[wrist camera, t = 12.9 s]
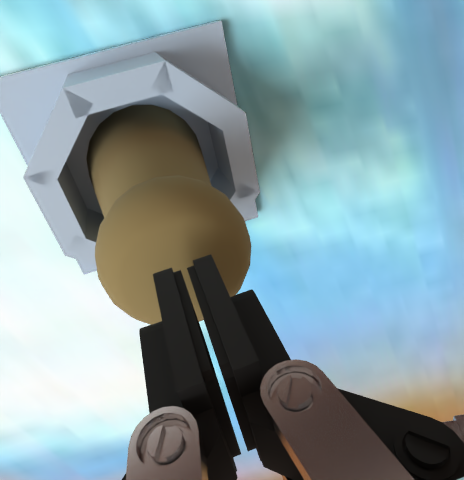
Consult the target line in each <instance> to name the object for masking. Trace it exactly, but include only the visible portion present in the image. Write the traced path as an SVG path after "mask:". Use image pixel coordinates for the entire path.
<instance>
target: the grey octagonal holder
mask: <svg viewBox="0 0 464 480" xmlns="http://www.w3.org/2000/svg"><path fill="white" fill-rule="evenodd" d="M131 105H154V106H158V107H161V108H165V109H168V110H171V111H172V112H173V113H175V114H176V115H178V116H179V117H181V118H182V119H184V120H185V121H186V122H187V124H188V125H189V126H190V127H191V129H192V130H193V131H194V133H195V134H196V136H197V139H198V142H199V145H200V148H201V150H202V154H203V157H204V161H205V165H206V168H207V172H208V175H209V179H210V182H211V186H212V187H214V188H216V189H217V190H219V191H221V192H222V193H224V194H225V195H226V196H227V197H228V198H229V200H230V201H231V202H232V203H233V205H234V206H235V207H236V208H237V210H238V211H239V212H240V214H241V215H242V216H243V218H244V221H247V220H250V219H253V218H256V217H258V213H257V207H256V202H255V199H256V198H257V196H258V195H259V193H260V190H259V184H258V179H257V173H256V167H255V162H254V156H253V151H252V145H251V139H250V134H249V128H248V122H247V117H246V112H244V111H243V110H242V109H240V108H239V107H238V106H237V101H236V95H235V90H234V85H233V79H232V74H231V69H230V63H229V58H228V53H227V47H226V42H225V37H224V31H223V26H222V21H220V20H217V21H214V22H210V23H206V24H202V25H198V26H194V27H190V28H186V29H182V30H178V31H175V32H171V33H167V34H163V35H159V36H155V37H151V38H147V39H143V40H140V41H136V42H132V43H128V44H124V45H120V46H116V47H112V48H108V49H104V50H101V51H97V52H93V53H89V54H85V55H81V56H77V57H73V58H69V59H66V60H62V61H58V62H54V63H50V64H46V65H42V66H38V67H34V68H30V69H27V70H23V71H19V72H15V73H11V74H7V75H3V76H0V114H1V116H2V118H3V120H4V122H5V123H6V125H7V127H8V129H9V131H10V133H11V135H12V137H13V139H14V141H15V143H16V145H17V147H18V148H19V150H20V152H21V154H22V156H23V158H24V160H25V162H26V164H27V166H28V167H27V169H26V172H25V174H24V177H23V178H24V180H25V182H26V183H27V185H28V187H29V189H30V191H31V193H32V195H33V197H34V198H35V200H36V202H37V204H38V206H39V208H40V210H41V211H42V213H43V215H44V217H45V219H46V221H47V223H48V225H49V226H50V228H51V230H52V232H53V234H54V236H55V238H56V240H57V241H58V243H59V245H60V247H61V249H62V251H63V253H64V254H65V256H68V257H71V258H75V259H76V260H77V262H78V264H79V266H80V268H81V270H82V272H83V274H87V273H90V272H93V271H96V270H97V266H96V261H95V245H96V241H97V236H98V231H99V227H100V224H101V223H102V221H103V219H104V216H103V213H102V210H101V207H100V205H99V202H98V199H97V196H96V194H95V191H94V188H93V185H92V182H91V180H90V177H89V172H88V166H87V160H86V157H87V152H88V146H89V141H90V139H91V137H92V136H93V134H94V132H95V130H96V129H97V127H98V125H99V124H100V123H101V122H103V121H104V120H105V119H106V118H107V117H109V116H110V115H111V114H112V113H113V112H116V111H118V110H121V109H124V108H126V107H129V106H131Z"/></svg>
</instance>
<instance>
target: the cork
mask: <svg viewBox="0 0 464 480" xmlns="http://www.w3.org/2000/svg"><path fill="white" fill-rule="evenodd" d="M86 160H87V166H88V172H89V177H90V180H91V182H92V185H93V188H94V191H95V194H96V196H97V199H98V202H99V205H100V207H101V210H102V213H103V216H104V219H103V221H102V223H101V224H100V227H99V231H98V236H97V241H96V245H95V261H96V266H97V272H98V277H99V280H100V282H101V284H102V286H103V287H104V289H105V291H106V292H107V294H108V295H109V297H110V298H111V300H112V302H113V303H114V304H115V305H116V306H118V307H119V308H120V309H122V310H123V311H124V312H126V313H127V314H128V315H130V316H131V317H133V318H135V319H137V320H139V321H142V322H145V323H148V324H151V325H152V324H155V323H158V322H161V321H162V318H161V313H160V308H159V303H158V298H157V293H156V288H155V283H154V279H153V274H154V273H157V272H160V271H163V270H166V269H169V268H172V269H173V272H176V271H179V270H181V272H182V275H183V278H184V281H185V284H186V287H187V289H188V292H189V295H190V298H191V301H192V304H193V307H194V310H195V313H196V316H197V319H198V322H199V321H202V320H204V318H203V315H202V312H201V309H200V306H199V303H198V300H197V297H196V294H195V291H194V288H193V285H192V282H191V279H190V276H189V273H188V270H187V268H188V267H191V266H194V264H193V261H192V260H195V259H198V258H201V257H204V256H207V255H210V254H211V255H212V257H213V260H214V262H215V264H216V266H217V269H218V271H219V273H220V275H221V277H222V280H223V282H224V284H225V286H226V289H227V291H228V293H229V295H230V297H232V296H235V295H236V294H237V292H238V291H239V290H240V288H241V286H242V284H243V281H244V279H245V276H246V274H247V271H248V269H249V266H250V256H251V242H250V236H249V233H248V230H247V227H246V224H245V221H244V218H243V216H242V215H241V214H240V212H239V211H238V210H237V208H236V207H235V206H234V205H233V203H232V202H231V201H230V200H229V198H228V197H227V196H226V195H225V194H224V193H222V192H221V191H219V190H217V189H216V188H214V187H212V186H211V182H210V179H209V175H208V172H207V168H206V165H205V161H204V157H203V154H202V150H201V148H200V145H199V142H198V139H197V136H196V134H195V133H194V131H193V130H192V129H191V127H190V126H189V125H188V124H187V122H186V121H185V120H184V119H182V118H181V117H179V116H178V115H176V114H175V113H173V112H172V111H171V110H168V109H165V108H161V107H158V106H154V105H131V106H129V107H126V108H124V109H121V110H118V111H116V112H113V113H112V114H111V115H110V116H109V117H107V118H106V119H105V120H104V121H103V122H101V123H100V124H99V125H98V127H97V129H96V130H95V132H94V134H93V136H92V137H91V139H90V141H89V146H88V152H87V157H86Z"/></svg>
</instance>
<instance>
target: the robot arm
mask: <svg viewBox="0 0 464 480" xmlns="http://www.w3.org/2000/svg"><path fill="white" fill-rule="evenodd" d="M192 261H193V264H194V266H191V267H188V268H187V270H188V273H189V276H190V279H191V282H192V285H193V288H194V291H195V294H196V297H197V300H198V303H199V306H200V309H201V312H202V315H203V318H204V321H205V324H206V327H207V330H208V333H209V337H210V340H211V343H212V346H213V349H214V351H215V354H216V357H217V360H218V363H219V366H220V369H221V372H222V375H223V378H224V381H225V384H226V387H227V390H228V393H229V396H230V399H231V402H232V405H233V408H234V411H235V414H236V417H237V420H238V423H239V426H240V429H241V432H242V435H243V438H244V441H245V444H246V447H247V450H248V451H250V450H252V449H255V448H256V449H257V452H258V455H259V458H260V461H262V463H263V466H264V467H265V468H268V469H270V470H272V471H274V472H277V473H279V474H281V475H282V477H283V480H464V415H457V416H454V418H453V421H447V422H440V421H438V420H435V419H433V418H431V417H427V416H424V415H421V414H418V413H415V412H411V411H408V410H405V409H402V408H399V407H395V406H392V405H389V404H386V403H382V402H379V401H376V400H373V399H370V398H366V397H363V396H360V395H357V394H354V393H350V392H347V391H344V390H341V389H337V388H336V387H335V385H334V384H333V383H332V382H331V381H330V379H329V378H328V377H327V376H326V375H325V374H324V372H323V371H322V370H320V369H319V368H318V367H317V366H316V365H314V364H312V363H309V362H307V361H303V360H291V359H290V357H289V355H288V354H287V352H286V350H285V348H284V346H283V344H282V343H281V341H280V339H279V337H278V335H277V333H276V331H275V330H274V328H273V326H272V324H271V322H270V320H269V318H268V317H267V315H266V313H265V311H264V309H263V307H262V305H261V304H260V302H259V300H258V298H257V296H256V294H255V293H254V291H253V290H249V291H246V292H243V293H240V294H237V295H235V296H232V297H230V295H229V293H228V291H227V289H226V286H225V284H224V282H223V280H222V277H221V275H220V273H219V271H218V269H217V266H216V264H215V262H214V260H213V257H212V255H211V254H210V255H207V256H204V257H201V258H198V259H195V260H192ZM153 279H154V283H155V288H156V293H157V298H158V303H159V308H160V313H161V318H162V321H161V322H158V323H155V324H152V325H149V326H146V327H144V328H141V329H140V341H141V349H142V357H143V365H144V373H145V380H146V388H147V396H148V404H149V412H150V414H149V415H147V416H146V417H144V418H143V420H142V421H141V422H140V423H139V424H138V425H137V426H136V428H135V430H134V432H133V434H132V436H131V439H130V443H129V447H128V459H127V471H126V474H125V476H124V477H123V479H122V480H237V474H236V471H237V469H236V466H235V462H234V459H233V457H235V456H238V455H240V454H241V452H240V449H239V446H238V443H237V439H236V436H235V433H234V430H233V427H232V424H231V421H230V417H229V414H228V411H227V408H226V405H225V402H224V399H223V395H222V392H221V389H220V386H219V383H218V380H217V377H216V373H215V370H214V367H213V364H212V361H211V358H210V355H209V351H208V348H207V345H206V342H205V339H204V336H203V333H202V330H201V327H200V324H199V322H198V319H197V316H196V313H195V310H194V307H193V304H192V301H191V298H190V295H189V292H188V289H187V287H186V284H185V281H184V278H183V275H182V272H181V270H179V271H176V272H173V269H172V268H169V269H166V270H163V271H160V272H157V273H154V274H153Z"/></svg>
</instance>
